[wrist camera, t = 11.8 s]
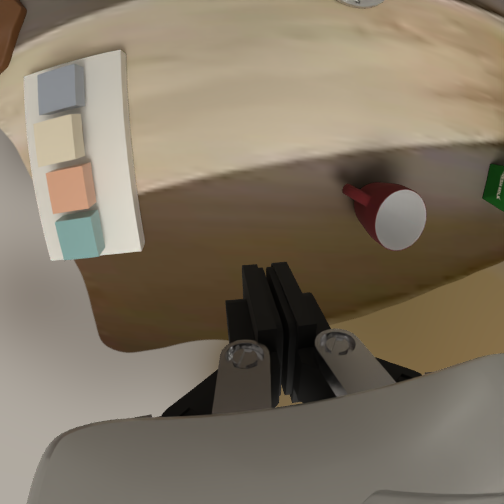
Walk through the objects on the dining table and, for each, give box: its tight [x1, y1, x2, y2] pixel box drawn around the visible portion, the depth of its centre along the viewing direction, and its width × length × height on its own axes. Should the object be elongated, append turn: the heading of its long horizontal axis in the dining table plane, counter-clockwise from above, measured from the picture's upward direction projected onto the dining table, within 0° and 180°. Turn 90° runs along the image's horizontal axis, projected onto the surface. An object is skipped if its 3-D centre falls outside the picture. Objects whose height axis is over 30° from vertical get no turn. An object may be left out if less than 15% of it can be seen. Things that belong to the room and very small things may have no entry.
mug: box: [342, 182, 427, 251], centre depth 41 cm, size 10×8×10 cm
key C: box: [46, 162, 97, 214], centre depth 35 cm, size 5×5×6 cm
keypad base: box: [24, 50, 145, 261], centre depth 36 cm, size 26×14×3 cm, turn 3°
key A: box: [37, 64, 85, 115], centre depth 30 cm, size 5×5×6 cm
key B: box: [33, 114, 85, 167], centre depth 31 cm, size 5×5×6 cm
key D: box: [55, 210, 105, 260], centre depth 37 cm, size 5×5×6 cm
